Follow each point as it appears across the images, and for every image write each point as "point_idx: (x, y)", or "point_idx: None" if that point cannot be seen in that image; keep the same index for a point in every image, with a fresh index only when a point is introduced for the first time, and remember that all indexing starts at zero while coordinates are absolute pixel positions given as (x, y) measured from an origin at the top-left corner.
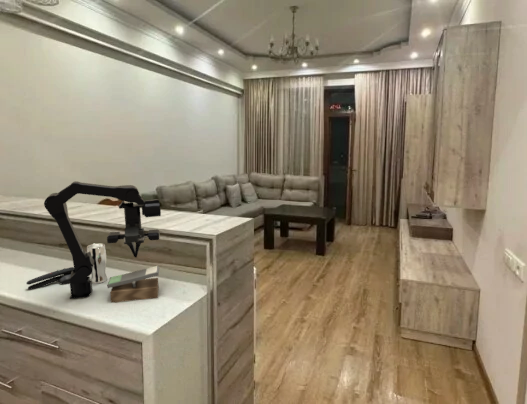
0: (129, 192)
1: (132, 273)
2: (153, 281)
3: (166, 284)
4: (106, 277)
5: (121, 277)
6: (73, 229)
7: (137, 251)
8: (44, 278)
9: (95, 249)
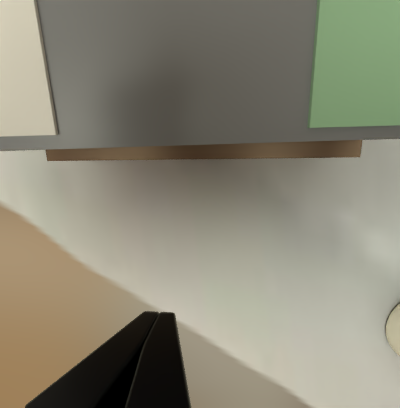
0: None
1: (203, 100)
2: None
3: (48, 181)
4: (396, 332)
5: (313, 54)
6: None
7: (73, 377)
8: None
9: None
